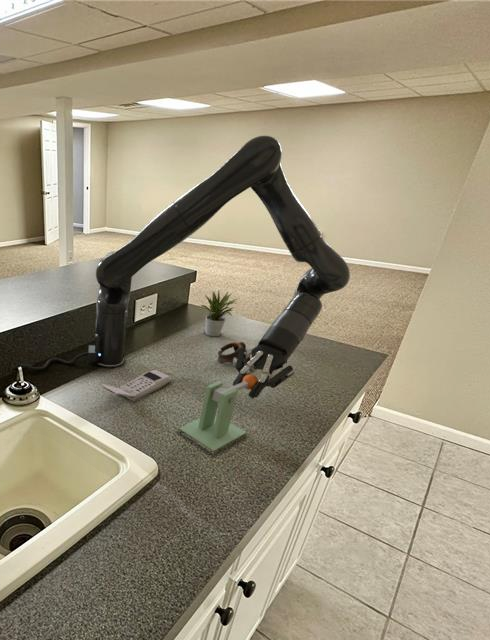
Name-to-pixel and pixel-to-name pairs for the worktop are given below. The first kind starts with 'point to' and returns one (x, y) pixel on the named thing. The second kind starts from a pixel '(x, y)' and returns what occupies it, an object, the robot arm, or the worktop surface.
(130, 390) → the mobile phone
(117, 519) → the worktop surface
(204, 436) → the power switch
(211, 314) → the house plant
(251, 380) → the switch lever
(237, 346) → the brown curved piece
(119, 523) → the worktop surface
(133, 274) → the robot arm
